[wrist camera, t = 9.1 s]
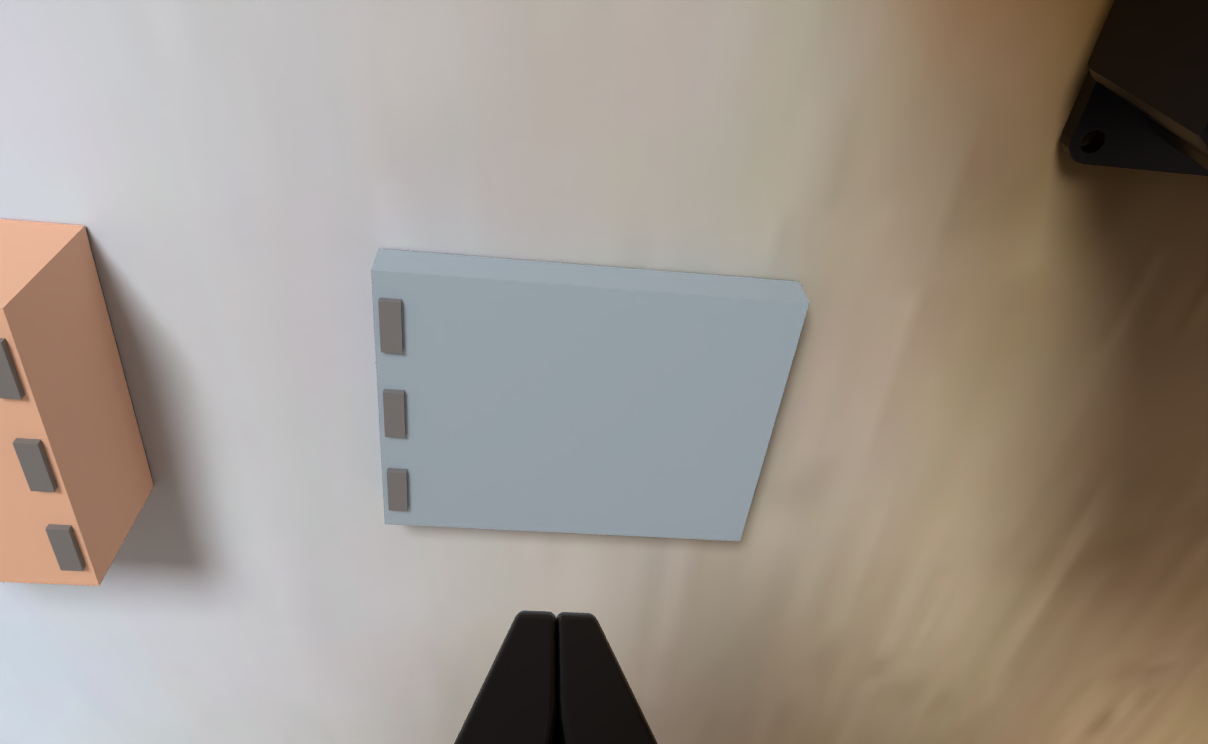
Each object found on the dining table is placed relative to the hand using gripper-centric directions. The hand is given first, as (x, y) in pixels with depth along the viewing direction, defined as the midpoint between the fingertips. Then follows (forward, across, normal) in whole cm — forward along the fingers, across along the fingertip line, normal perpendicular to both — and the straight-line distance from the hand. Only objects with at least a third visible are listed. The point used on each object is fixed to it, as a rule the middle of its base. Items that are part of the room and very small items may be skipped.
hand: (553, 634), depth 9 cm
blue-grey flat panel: (+12, -1, +6) cm, 13 cm away
